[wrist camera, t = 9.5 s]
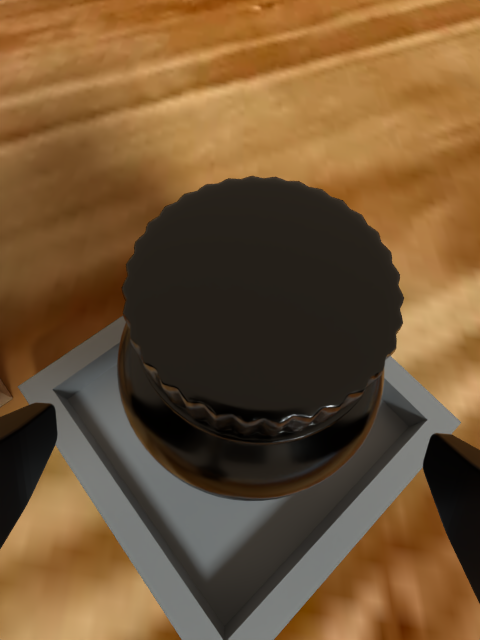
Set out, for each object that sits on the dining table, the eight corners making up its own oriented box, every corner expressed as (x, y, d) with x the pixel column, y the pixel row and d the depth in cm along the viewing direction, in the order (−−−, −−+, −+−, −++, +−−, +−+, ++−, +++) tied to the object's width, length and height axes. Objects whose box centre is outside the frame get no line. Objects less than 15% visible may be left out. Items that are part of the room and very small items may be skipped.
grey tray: (431, 432, 18) (461, 422, 16) (220, 668, 14) (221, 700, 12) (249, 255, 22) (253, 227, 20) (43, 401, 18) (17, 386, 16)
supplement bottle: (200, 326, 19) (173, 96, 8) (332, 375, 18) (494, 192, 7) (135, 462, 16) (-40, 387, 5) (287, 528, 15) (445, 594, 5)
